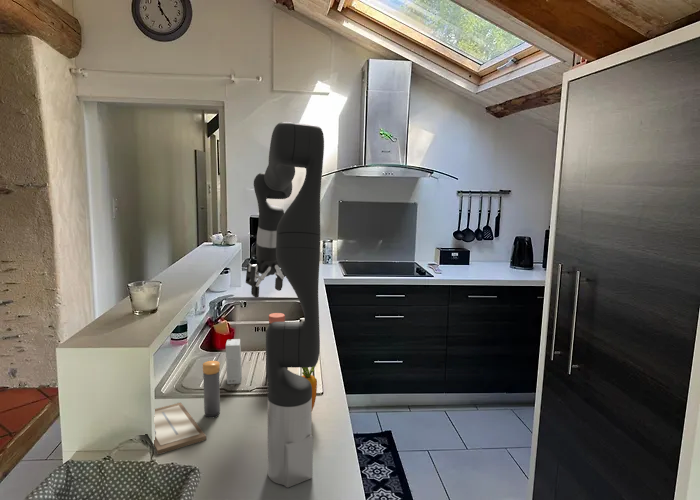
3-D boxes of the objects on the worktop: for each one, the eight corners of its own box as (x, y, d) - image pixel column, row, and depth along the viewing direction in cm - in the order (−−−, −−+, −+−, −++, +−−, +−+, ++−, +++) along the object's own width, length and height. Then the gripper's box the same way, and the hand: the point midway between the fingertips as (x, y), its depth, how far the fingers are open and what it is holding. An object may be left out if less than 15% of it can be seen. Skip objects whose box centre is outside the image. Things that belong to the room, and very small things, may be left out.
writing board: (206, 439, 115) (205, 432, 114) (157, 454, 108) (156, 447, 108) (180, 405, 131) (180, 399, 130) (136, 417, 124) (136, 410, 124)
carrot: (316, 412, 129) (317, 359, 126) (316, 422, 124) (316, 367, 121) (298, 412, 129) (298, 359, 126) (296, 422, 124) (297, 366, 121)
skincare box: (241, 383, 145) (240, 345, 143) (226, 384, 144) (225, 346, 142) (242, 375, 151) (241, 338, 149) (227, 376, 150) (226, 338, 148)
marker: (223, 415, 126) (221, 364, 124) (207, 419, 124) (205, 368, 122) (217, 408, 130) (216, 359, 127) (201, 413, 127) (200, 362, 125)
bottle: (276, 370, 155) (276, 310, 152) (292, 375, 152) (292, 314, 148) (261, 377, 150) (260, 315, 147) (277, 383, 146) (277, 319, 143)
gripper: (258, 250, 131) (255, 304, 136) (297, 241, 141) (293, 291, 147) (241, 242, 135) (239, 294, 141) (280, 234, 146) (277, 283, 151)
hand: (267, 293), depth 144 cm, fingers open, 8 cm apart
